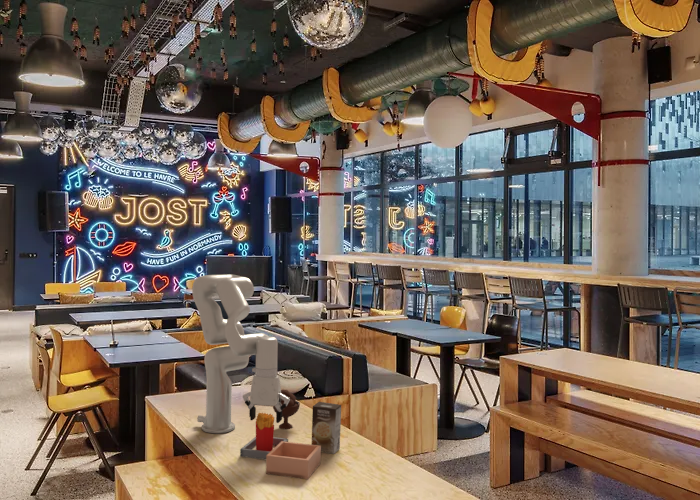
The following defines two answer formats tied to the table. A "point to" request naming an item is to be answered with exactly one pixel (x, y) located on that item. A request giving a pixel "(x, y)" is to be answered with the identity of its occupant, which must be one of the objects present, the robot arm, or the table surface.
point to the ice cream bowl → (288, 409)
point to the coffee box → (326, 426)
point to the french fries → (264, 432)
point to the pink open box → (293, 460)
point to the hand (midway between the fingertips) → (265, 420)
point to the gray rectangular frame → (258, 454)
